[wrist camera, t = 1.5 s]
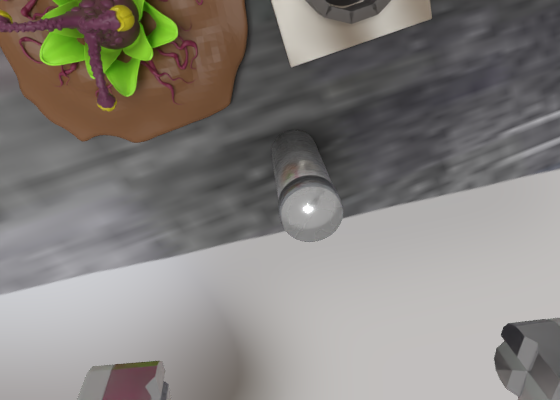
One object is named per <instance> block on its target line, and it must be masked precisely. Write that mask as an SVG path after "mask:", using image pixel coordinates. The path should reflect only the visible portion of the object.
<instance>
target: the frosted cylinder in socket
mask: <svg viewBox="0 0 560 400" xmlns="http://www.w3.org/2000/svg"><path fill="white" fill-rule="evenodd" d="M271 154H272V161H273V168H274V174H275V180H276V187H277V193H278V208H279V215H280V221H281V224H282V226H283V227H284V229H285V230H286V232H287V233H288V234H289V235H290V236H292V237H293V238H295V239H297V240H300V241H305V242H314V241H319V240H322V239H325V238H327V237H328V236H330V235H331V234H332V233H334V232H335V231H336V229H337V228H338V227H339V225H340V223H341V221H342V217H343V206H342V202H341V200H340V197H339V195H338V193H337V190H336V188H335V187H334V185H333V184H332V182H331V180H330V177H329V175H328V172H327V170H326V168H325V165H324V163H323V161H322V158H321V156H320V153H319V151H318V149H317V146H316V144H315V142H314V140H313V138H312V137H311V136H310V135H309V134H307V133H306V132H303V131H300V130H290V131H286V132H284V133H282V134H281V135H279V136H278V137H277V138H276V140H275V141H274V143H273V145H272V150H271Z"/></svg>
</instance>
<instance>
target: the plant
mask: <svg viewBox="0 0 560 400" xmlns="http://www.w3.org/2000/svg"><path fill="white" fill-rule="evenodd" d="M247 34H248V24H247V15H246V8H245V0H0V47H1V49H2V50H3V52H4V54H5V56H6V58H7V59H8V61H9V63H10V64H11V66H12V68H13V70H14V72H15V73H16V75H17V78H18V81H19V86H20V89H21V92H22V93H23V95H24V96H25V97H26V98H27V99H29V100H30V101H31V102H33V103H34V104H35V105H36V106H37V107H38V109H39V110H40V111H41V112H42V113H43V114H44V115H45V116H46V117H47V118H48V119H49V120H50V121H51V122H53V123H55V124H57V125H59V126H61V127H63V128H65V129H66V130H68V131H69V132H70V133H72V134H73V135H74V136H76V137H77V138H78V139H79V140H81V141H87V140H89V139H91V138H93V137H95V136H99V135H111V136H117V137H121V138H124V139H126V140H128V141H131V142H134V143H138V142H144V141H147V140H150V139H152V138H154V137H156V136H159V135H162V134H164V133H167V132H170V131H172V130H175V129H178V128H180V127H183V126H185V125H188V124H190V123H193V122H195V121H198V120H201V119H204V118H206V117H209V116H211V115H213V114H215V113H217V112H219V111H221V110H223V109H224V108H226V107H227V106H228V105H229V104H230V102H231V97H232V92H233V86H234V81H235V76H236V73H237V69H238V67H239V65H240V63H241V61H242V59H243V57H244V54H245V50H246V43H247Z"/></svg>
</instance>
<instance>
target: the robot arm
mask: <svg viewBox="0 0 560 400" xmlns="http://www.w3.org/2000/svg"><path fill="white" fill-rule="evenodd" d="M501 336H502V338H503V339H504V342H503V343H502V344H501V345H500V346H499V347H497V349H496V353H495V357H494V361H495V367H496V371H497V373H498V376H499V378H500V380H501V381H502V383H503V385H504V386H505V388H506V389H507V390H509V391H511V392H512V393H514V394H515V395H517V396H518V400H560V318H553V319H541V320H533V321H525V322H516V323H508V324H507V325H506V326H504V327H503V330H502V333H501ZM164 375H165V369H164V365H163V362H162V361H151V362H139V363H127V364H115V365H104V366H93V367H92V368H91V369H90V370H89V372H88V373H87V375H86V377H85V380H84V383H83V385H82V388H81V391H80V393H79V396H78V398H77V400H171V395H170V388H169V385H168V384H167V383H166V382H164Z"/></svg>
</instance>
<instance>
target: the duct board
mask: <svg viewBox="0 0 560 400" xmlns="http://www.w3.org/2000/svg"><path fill="white" fill-rule="evenodd" d="M271 3H272V6H273V10H274V13H275V16H276V20H277V23H278V27H279V30H280V33H281V37H282V40H283V43H284V47H285V50H286V54H287V57H288V60H289V64H290V66H291V67H294V66H297V65H299V64H302V63H305V62H308V61H311V60H314V59H317V58H320V57H323V56H326V55H328V54H331V53H334V52H337V51H340V50H343V49H346V48H349V47H352V46H354V45H357V44H360V43H363V42H366V41H369V40H372V39H375V38H378V37H380V36H383V35H386V34H389V33H392V32H395V31H398V30H401V29H404V28H406V27H409V26H412V25H415V24H418V23H421V22H424V21H427V20H430V19H432V15H431V6H430V0H271Z"/></svg>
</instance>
